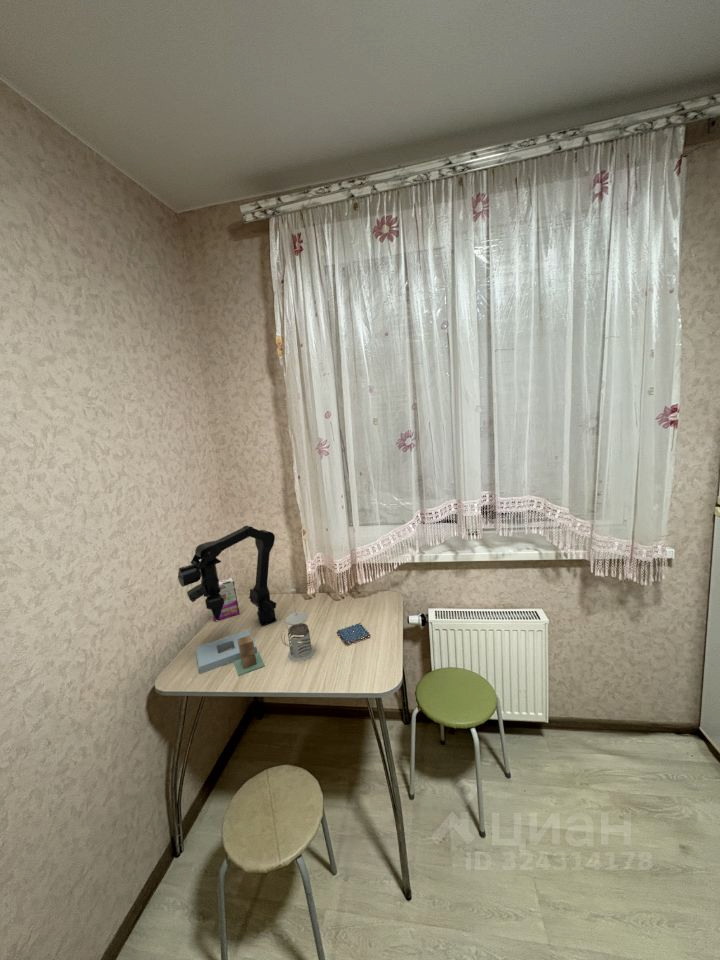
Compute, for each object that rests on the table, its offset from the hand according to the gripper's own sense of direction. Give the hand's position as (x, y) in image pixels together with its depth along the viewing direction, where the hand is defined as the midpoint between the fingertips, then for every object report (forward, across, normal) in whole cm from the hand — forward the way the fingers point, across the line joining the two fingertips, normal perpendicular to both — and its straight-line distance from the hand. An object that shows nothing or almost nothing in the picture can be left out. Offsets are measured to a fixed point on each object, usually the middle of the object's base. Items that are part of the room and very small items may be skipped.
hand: (216, 614), depth 147 cm
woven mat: (+13, +26, +45) cm, 54 cm away
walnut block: (+12, +20, +7) cm, 24 cm away
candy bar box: (+13, -22, +5) cm, 26 cm away
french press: (+13, +25, +24) cm, 37 cm away
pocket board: (+12, +8, +1) cm, 15 cm away
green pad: (+12, +20, +7) cm, 25 cm away
